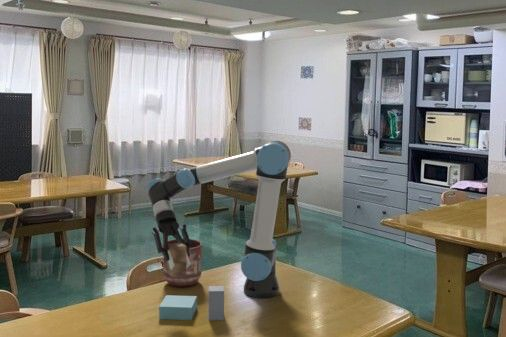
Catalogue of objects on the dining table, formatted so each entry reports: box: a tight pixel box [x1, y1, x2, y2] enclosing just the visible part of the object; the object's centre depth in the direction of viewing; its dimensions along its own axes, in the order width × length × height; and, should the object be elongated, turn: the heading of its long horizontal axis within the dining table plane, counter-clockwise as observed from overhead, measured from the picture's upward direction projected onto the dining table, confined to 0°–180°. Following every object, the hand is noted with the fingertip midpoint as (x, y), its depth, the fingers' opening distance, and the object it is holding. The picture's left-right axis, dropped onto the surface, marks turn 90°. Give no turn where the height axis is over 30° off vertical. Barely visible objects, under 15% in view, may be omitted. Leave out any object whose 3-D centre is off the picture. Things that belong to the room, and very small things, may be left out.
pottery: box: [162, 238, 203, 288], centre depth 234 cm, size 18×18×18 cm
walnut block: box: [167, 243, 186, 277], centre depth 199 cm, size 6×6×11 cm
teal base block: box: [158, 294, 198, 321], centre depth 201 cm, size 12×12×5 cm
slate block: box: [208, 285, 225, 321], centre depth 197 cm, size 6×6×11 cm
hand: (180, 266), depth 196 cm, fingers closed on walnut block, 5 cm apart
